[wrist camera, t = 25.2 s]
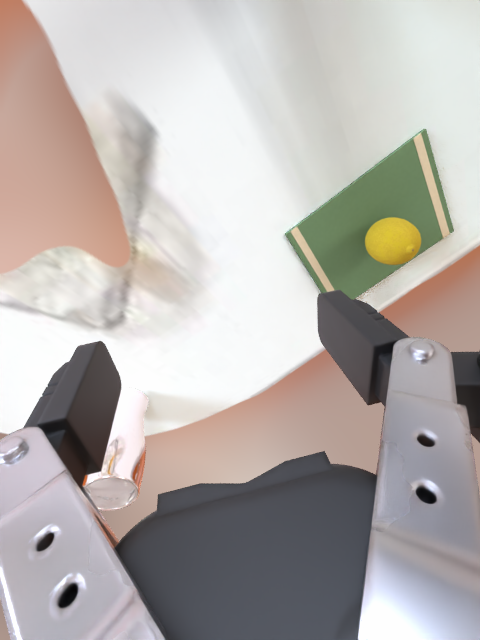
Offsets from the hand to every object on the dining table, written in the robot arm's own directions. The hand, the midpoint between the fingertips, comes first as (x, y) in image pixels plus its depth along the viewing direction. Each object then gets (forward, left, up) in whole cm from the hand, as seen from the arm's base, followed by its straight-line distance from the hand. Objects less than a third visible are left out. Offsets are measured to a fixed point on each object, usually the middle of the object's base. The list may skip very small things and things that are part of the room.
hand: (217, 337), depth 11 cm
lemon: (+5, +24, -28) cm, 37 cm away
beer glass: (+28, -14, -28) cm, 42 cm away
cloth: (+5, +24, -28) cm, 37 cm away
